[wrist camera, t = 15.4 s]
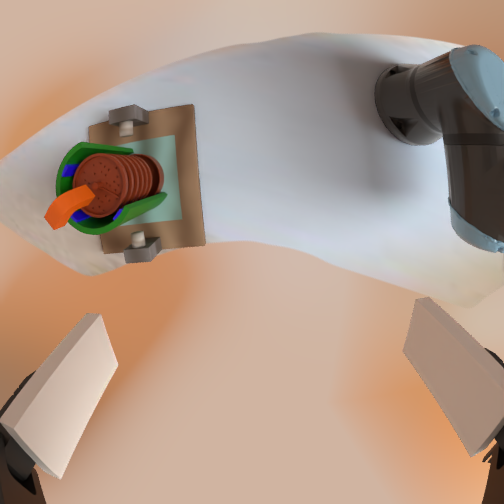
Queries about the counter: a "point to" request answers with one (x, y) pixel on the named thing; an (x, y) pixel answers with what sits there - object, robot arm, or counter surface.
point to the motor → (104, 188)
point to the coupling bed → (175, 180)
